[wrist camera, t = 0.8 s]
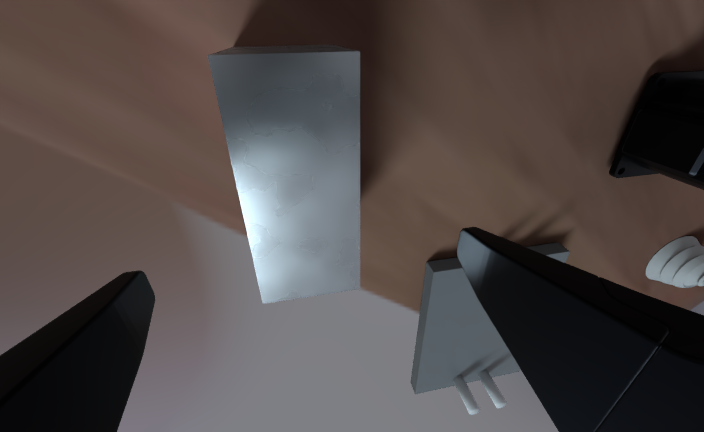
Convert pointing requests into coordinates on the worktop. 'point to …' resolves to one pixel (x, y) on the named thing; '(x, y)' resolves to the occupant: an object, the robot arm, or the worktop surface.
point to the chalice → (678, 263)
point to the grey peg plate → (461, 334)
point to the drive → (295, 162)
